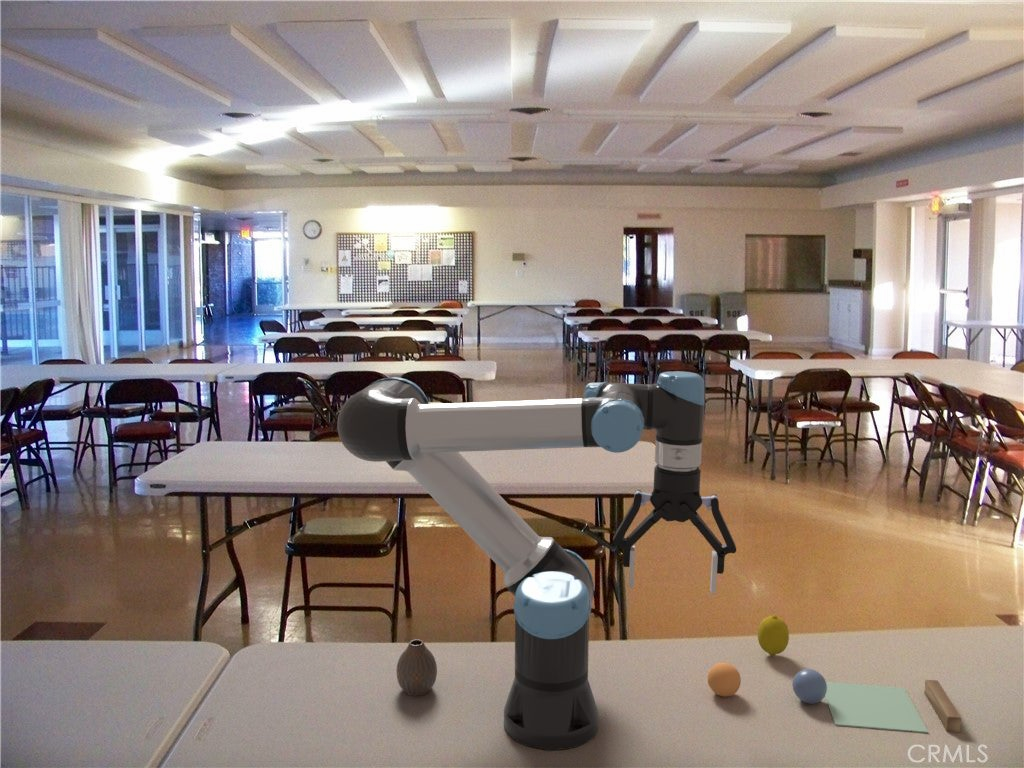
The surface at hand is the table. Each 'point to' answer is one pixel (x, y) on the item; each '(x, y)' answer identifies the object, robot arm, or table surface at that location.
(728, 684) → the ball
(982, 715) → the table surface
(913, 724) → the mark
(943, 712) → the rail
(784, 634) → the lemon
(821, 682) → the ball
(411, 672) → the vase
